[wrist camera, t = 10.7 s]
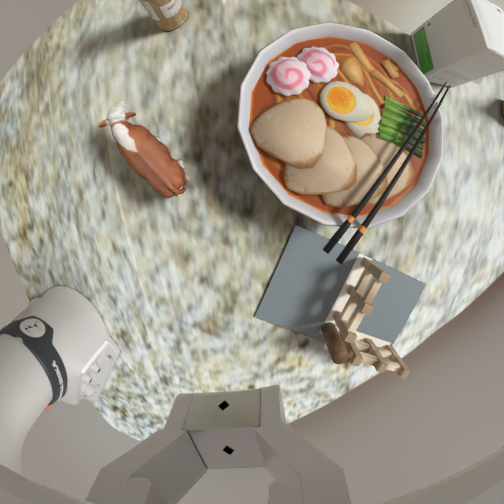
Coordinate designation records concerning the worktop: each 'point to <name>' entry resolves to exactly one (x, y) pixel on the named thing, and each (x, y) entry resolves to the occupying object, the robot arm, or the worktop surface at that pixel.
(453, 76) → the skincare box
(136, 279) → the worktop surface
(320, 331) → the card
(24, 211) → the worktop surface
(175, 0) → the spice jar
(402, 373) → the fixed fence panel
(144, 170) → the bull figurine
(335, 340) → the corner post
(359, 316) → the gate panel
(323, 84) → the ramen bowl
